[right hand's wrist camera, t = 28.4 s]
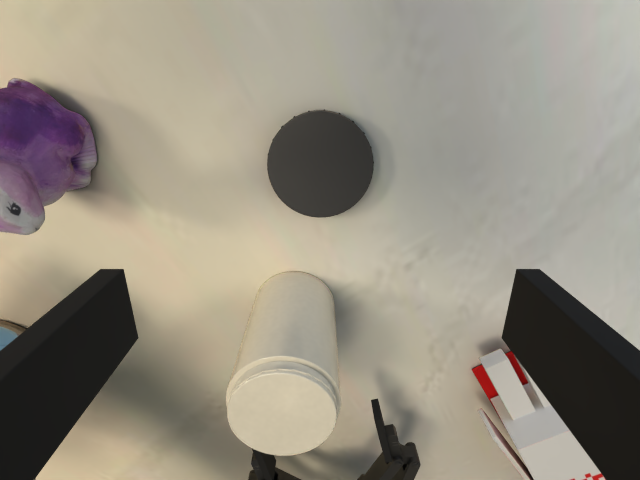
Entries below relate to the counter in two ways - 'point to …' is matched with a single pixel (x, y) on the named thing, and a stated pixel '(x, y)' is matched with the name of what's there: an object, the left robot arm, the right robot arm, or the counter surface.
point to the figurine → (39, 155)
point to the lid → (320, 163)
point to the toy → (530, 423)
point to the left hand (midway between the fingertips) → (314, 420)
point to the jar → (287, 368)
